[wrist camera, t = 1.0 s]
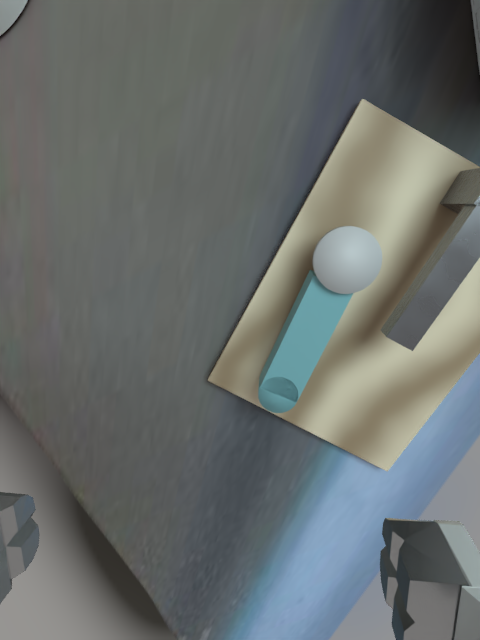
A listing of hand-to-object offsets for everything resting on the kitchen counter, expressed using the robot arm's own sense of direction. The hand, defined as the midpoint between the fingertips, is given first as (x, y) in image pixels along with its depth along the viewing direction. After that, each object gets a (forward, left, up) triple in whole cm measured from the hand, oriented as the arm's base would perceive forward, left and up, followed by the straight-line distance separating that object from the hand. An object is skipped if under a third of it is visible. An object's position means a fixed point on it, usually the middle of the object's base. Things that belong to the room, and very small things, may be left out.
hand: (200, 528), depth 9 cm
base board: (+9, +4, -23) cm, 26 cm away
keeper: (+10, +9, -22) cm, 26 cm away
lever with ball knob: (+5, +1, -22) cm, 23 cm away
